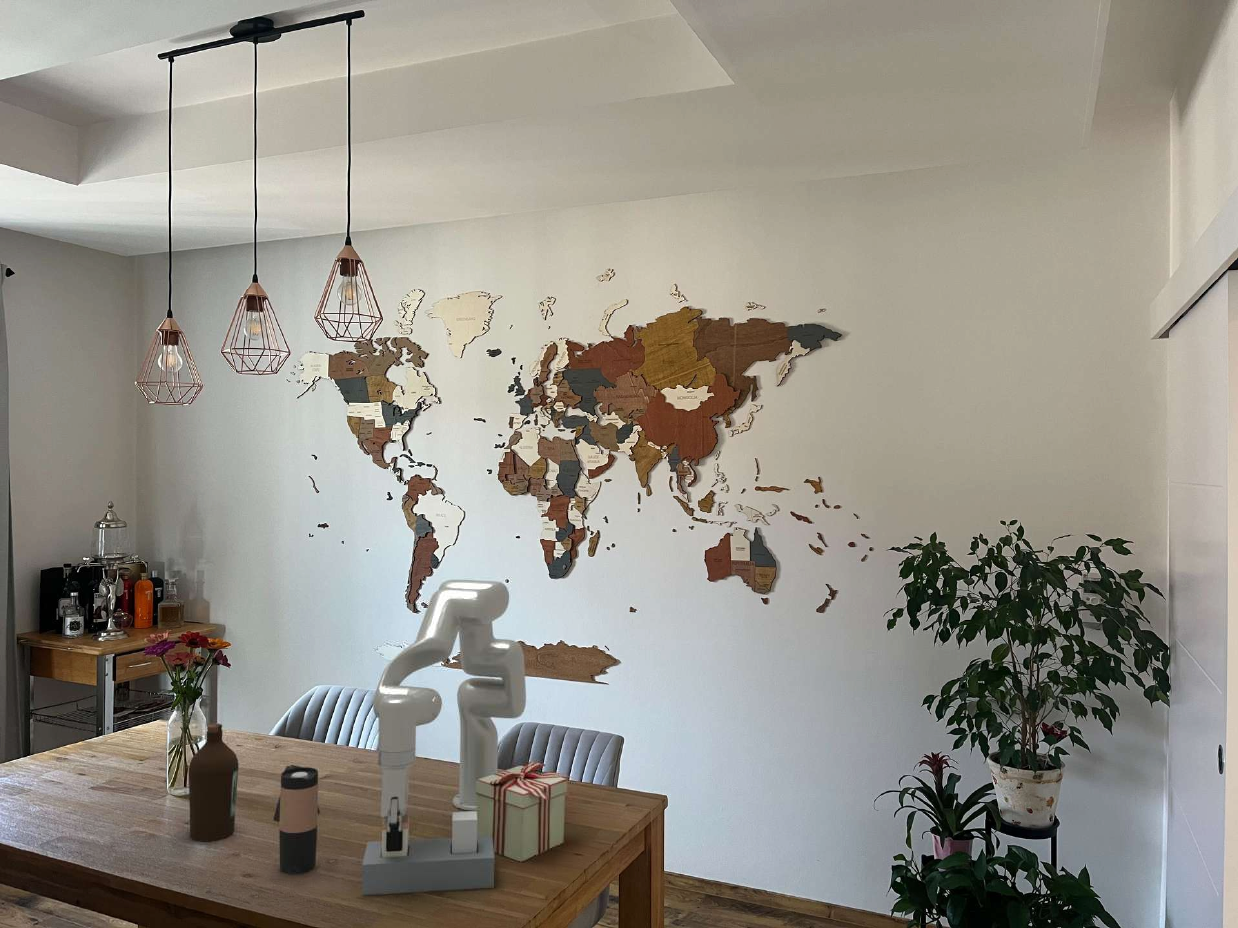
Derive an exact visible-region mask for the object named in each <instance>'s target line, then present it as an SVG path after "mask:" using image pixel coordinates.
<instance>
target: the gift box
mask: <svg viewBox="0 0 1238 928" xmlns="http://www.w3.org/2000/svg"><path fill="white" fill-rule="evenodd" d="M545 766H546V764H544V763H540V762H532V761H530V762H528V763H527V764H526V765H525V766H523V765H517V766H515V767H512V768H508V769H506V770H502V771H500V772H497V773H496V774H493V775H490V776H487V777H484V778H481V779H478V780H476V794H477V836H492V839H493V849H494V854H495V853H496V854H499V855H501V856H505V857H507V858H509V859H512V860H514V861H517V862H519V861H520V863H523V862H525V861H527V860H529V858H530V859H532V858H534V857H535V856H534V855H536V856H538V855H537V854H539V855H541V854H543V853H544V852H543V851H545V850H548V849H550V848H552V847H554V846H556V845H559V846H560V844H561V843H563V844H564V835H565V834H564V833H565V805H566V804H565V801H566V793H567V792H568V779H567V778H571V776H569V775H564V774H562V773H559V772H554V771H541V770H538V769H540V768H542V767H545ZM561 845H562V844H561ZM556 847H557V846H556ZM554 848H555V847H554ZM552 849H553V848H552ZM550 850H551V849H550ZM548 851H549V850H548ZM542 852H543V853H542ZM545 852H546V851H545ZM540 853H541V854H540ZM533 856H534V857H533ZM531 857H532V858H531ZM522 861H523V862H522Z"/></svg>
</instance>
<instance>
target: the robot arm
mask: <svg viewBox="0 0 1238 928" xmlns="http://www.w3.org/2000/svg"><path fill="white" fill-rule="evenodd" d="M438 587H439V588H438V589H437V590H436V591H435V592H434V593H433V594H432V595H431V598H430V600H429V602H428V606H427V607H426V611H425V613H424V616H423V619H422V622H421V624H420V628H419V630H418V633H417V636H416V638H415V640H414V642H413V643H412V644H410V645H409V646H408V647H406V648H404V649H403V650H402V651H401V652H400V653H398V654H397V655H396V656H395V657H394V658H393V659H392V660H391V661H390V662H389V663H388V664H387V666H386V667H385V668H384V670H383V672H382V675H381V676H380V679H379V682H378V685H377V688H376V690H375V693H374V697H373V703H372V707H373V713H374V715H375V716H376V717H377V719H378V737H377V738H378V739H377V740H378V741H377V742H378V745H377V749H378V750H377V765H378V768H381V769H382V772H381V795H380V796H381V797H380V818H382V819H383V818H384V817H386V816H387V815H388V826H387V831H386V851H387V852H393V851H402V843H403V830H401V827H402V817H403V816H404V815H405V814H406V811H407V806H408V805H407V804H408V797H409V785H410V783H409V781H410V767H412V766H414V765H415V764H416V750H417V749H416V746H417V745H416V739H417V738H416V736H417V732H416V731H417V727H419V726H423V725H427V724H430V723H432V722H434V721H435V720H436V719H437V718H438V716H439V715H440V713H441V711H442V708H443V707H442V706H443V701H442V697H441V695H440V693H439V691H437V690H435V689H433V688H431V687H419V686H412V685H411V686H409V685H401V684H402V682H403V681H404V680H405V679H406V678H407V677H409V676H410V675H412V674H413V673H415V672H417V671H420V670H422V669H425V668H427V667H430V666H433V665H435V664H438V663H440V662H443V661H445V660H447V659H448V658H449V657H450V656H451V654H452V653H453V649H454V646H455V642H456V640H457V636H458V639H459V640H458V641H459V654H460V655H459V656H460V663H461V664H460V665H461V669H462V671H463V672H464V673H465V674H467V675H469V676H475V677H471V678H468V679H466V680H465V679H464V680H463V681H462V682H461V683H460V685H459V686H458V689H457V693H456V699H457V700H456V701H457V707H458V715H459V729H460V730H459V731H460V734H459V735H460V738H459V739H460V740H459V741H460V742H459V785H458V786H459V788H458V789H459V791H458V794H456V795H455V796H454V797H453V799H452V805H454V807H455V808H457V809H459V808H460V809H461V810H463V811H477V794H476V780H478V779H481V778H484V777H487V776H490V775H493V774H496V773H498V753H499V752H498V750H499V749H498V748H499V747H498V746H499V745H498V744H499V743H498V742H499V734H498V729H497V727H496V724H495V723H494V721H493V719H494V718H495V719H496V718H497V719H499V718H500V719H517V718H519V717H521V716H522V715H523V713H524V712H525V709H526V705H527V704H526V703H527V688H526V687H527V686H526V675H525V674H526V672H525V671H526V670H525V654H524V650H523V648H522V646H521V644H520V643H519V642H518V641H516V640H514V639H505V638H504V639H503V638H496V637H495V636H494V630H493V622H494V621H495V620H498V619H499V618H500V617H502V616H503V615H504V614H505V613H506V611H507V610H508V606H509V603H510V593H509V590H508V587H507V586H506V585H505V583H503V582H501V581H495V580H494V581H491V580H475V579H474V580H473V579H449V580H445V581H444V582H442V583H441V584H440V585H439V586H438ZM492 718H493V719H492ZM390 815H391V816H390ZM397 819H399V822H398V821H397Z"/></svg>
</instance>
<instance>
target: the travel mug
mask: <svg viewBox="0 0 1238 928" xmlns="http://www.w3.org/2000/svg"><path fill="white" fill-rule="evenodd" d="M279 794H280V795H279V797H280V821H279V827H278V828H279V829H278V831H279V870H280V872H282V873H283V874H287V875H300V874H304V873H308V872H310V871H312V870H314V869H315V867H316V860H317V859H316V858H317V841H318V839H317V837H318V818H319V817H318V816H319V814H318V807H319V804H318V803H319V800H318V799H319V798H318V796H319V771H318V769H316V768H314V767H309V766H308V767H307V766H303V767H302V766H299V768H292V769H288V770H286V771H285V770H283V772H281V774H280V793H279Z"/></svg>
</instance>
